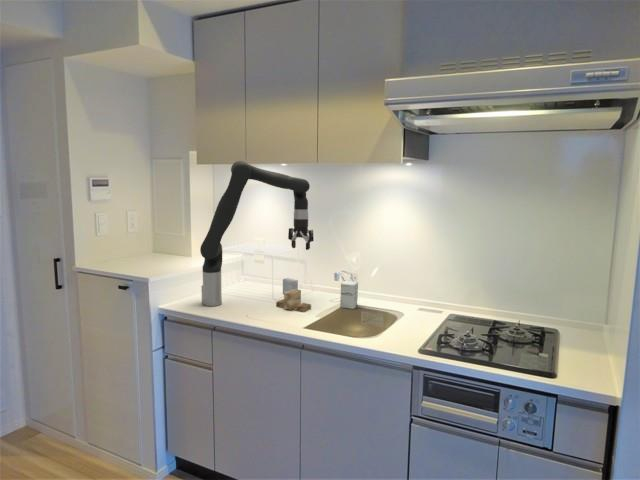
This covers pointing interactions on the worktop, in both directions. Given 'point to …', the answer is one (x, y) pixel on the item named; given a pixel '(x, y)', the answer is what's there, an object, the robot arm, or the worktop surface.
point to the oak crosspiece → (292, 299)
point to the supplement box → (349, 294)
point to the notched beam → (301, 307)
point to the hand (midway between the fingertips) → (300, 248)
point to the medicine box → (289, 284)
